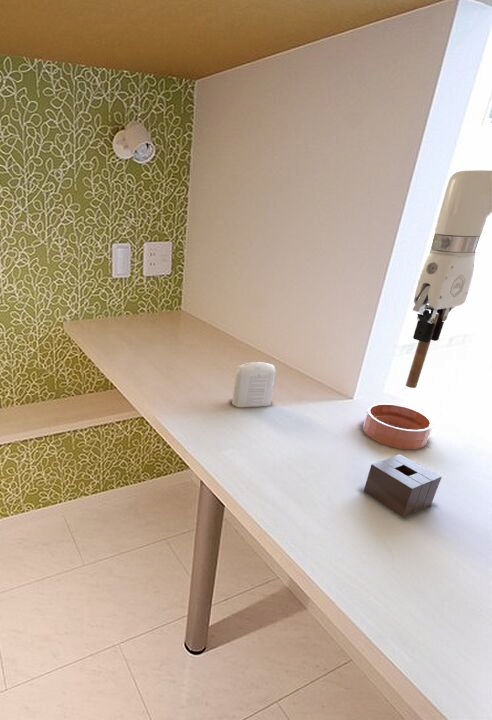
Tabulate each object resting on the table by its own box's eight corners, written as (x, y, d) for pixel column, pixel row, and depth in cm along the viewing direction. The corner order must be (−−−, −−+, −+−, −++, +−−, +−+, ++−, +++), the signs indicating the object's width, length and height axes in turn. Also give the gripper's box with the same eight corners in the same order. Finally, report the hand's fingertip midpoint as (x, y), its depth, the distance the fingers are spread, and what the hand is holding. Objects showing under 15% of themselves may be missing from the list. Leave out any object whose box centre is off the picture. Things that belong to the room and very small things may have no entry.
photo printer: (266, 401, 118) (272, 358, 113) (272, 408, 114) (279, 364, 109) (229, 403, 117) (234, 360, 111) (234, 410, 113) (240, 366, 107)
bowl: (408, 424, 107) (414, 404, 105) (437, 454, 95) (445, 432, 93) (353, 422, 108) (358, 402, 106) (375, 451, 96) (381, 429, 94)
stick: (413, 384, 94) (435, 311, 87) (418, 388, 92) (441, 314, 85) (403, 384, 94) (425, 311, 87) (408, 387, 92) (430, 314, 85)
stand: (390, 483, 86) (400, 453, 83) (430, 508, 79) (442, 476, 76) (362, 494, 82) (371, 464, 79) (401, 521, 76) (412, 489, 73)
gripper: (449, 249, 74) (418, 351, 82) (500, 245, 81) (467, 339, 89) (407, 244, 80) (382, 339, 88) (458, 241, 87) (431, 329, 95)
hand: (425, 339), depth 89 cm, fingers closed on stick, 2 cm apart
